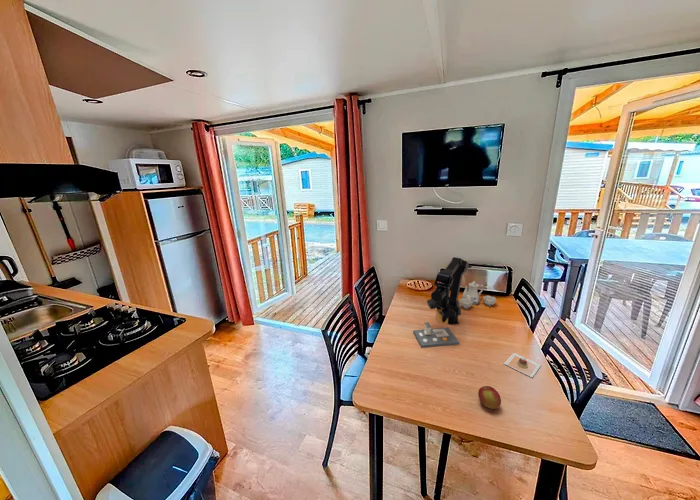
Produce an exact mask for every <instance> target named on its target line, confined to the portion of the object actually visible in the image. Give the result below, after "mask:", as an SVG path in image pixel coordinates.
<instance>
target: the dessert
mask: <svg viewBox="0 0 700 500" xmlns="http://www.w3.org/2000/svg"><path fill="white" fill-rule="evenodd" d="M515 357H516V358H519V359H518V361H517V362H516V365H517V366H518V367H519V368H521V369H528V366H529V365H528V363H530V364H533V365H535V366H536V367H534V369H533V370H532V372H531V373H530V374H527V373H526V372H524V371H521V370H519V369H517V368H515V367H513V366H511V365H509V364H510V362H511V361H512V360H513V359H514V358H515ZM503 364H504V365H505V366H508V367H510V368H512V369H514V370H515V371H518V372H520V373H522V374H524V375H527V376H528V377H530V378H533V377H534V376H535V374H536V373H537V372H538V370H539V369H540V368H541V366H542V365H541V364H540V363H537V362H535V361H533V360H531V359H529V358H526V357H525V356H522V355H520V354H517V353H516V352H513V353H512V354H511V355H510V356H509V357H508V358H507V359H506V361H504V363H503Z"/></svg>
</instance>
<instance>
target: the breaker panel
mask: <svg viewBox="0 0 700 500" xmlns="http://www.w3.org/2000/svg"><path fill="white" fill-rule="evenodd" d="M412 332H413V335H414V337H415V339H416V340H417V342H418V344H419V346H420V348H422V349H424V348H434V347H435V348H436V347H446V346H455V345H456V346H457V345H460V340H458V338H457V336H455V334H454V333H453V332H452V330H451V329H450V328H449V326H447V327H437V328H431V331H430V333H431V335H425V333H424V328H423V329H413V331H412Z"/></svg>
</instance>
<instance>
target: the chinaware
mask: <svg viewBox="0 0 700 500" xmlns="http://www.w3.org/2000/svg"><path fill="white" fill-rule="evenodd" d="M480 287H481V290H480V291H479V292H478V288H480ZM483 291H484V286H483V285H482V284H478V283H477V282H476V281H475V280H473V281H472V282H470V283H468V286H467V285H464V291H463V293H462V298H460V299H458V301H459V307H460V308H462V309H465V310H468V309H469V308H471V307H472V306H476V305H478V304H479V303H480V302H481V301H482V300H481V297H480V296H481V294H482V292H483ZM482 299H483V302H484V304H485V305H486V306H487V307H492V306H493V305H494V304H495V303H496V302H497V301H498V299H497V297H495V296H491V295H485V296H484V295H483V296H482Z"/></svg>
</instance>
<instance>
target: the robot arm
mask: <svg viewBox="0 0 700 500" xmlns="http://www.w3.org/2000/svg"><path fill="white" fill-rule="evenodd" d="M469 266H470V265H469V262H468V261H467V260H464V259H463V258H461V257H452V259H451V261H450V263H449V264H448V265H447V266H446V268H445V269H442V270H440V271H439V272H438V273H437V275H436V276H435V277H436V278H435V281H434V283H433V287H436V288H434V290H433V291H432V292H431V293H430V297H431V298H430V299H428V300H426V303H427V305H428V306H427V307H428V308H429V309H430V310H435V309H436V310H440V309H442V310H441V312H440V313H441V315H442V321H443V322H445V321H446V320H447V318H448V323H447V324H448V325H457V324H459V321H458V320H459V316H461V314H462V313H461V312H462V309H461V306H459V305H460V303H459V299H458V298H459V293H460V290H461V289H460V288H461V286H462V280H463V275H465V274H466V272H467V270H468V268H469Z"/></svg>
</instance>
